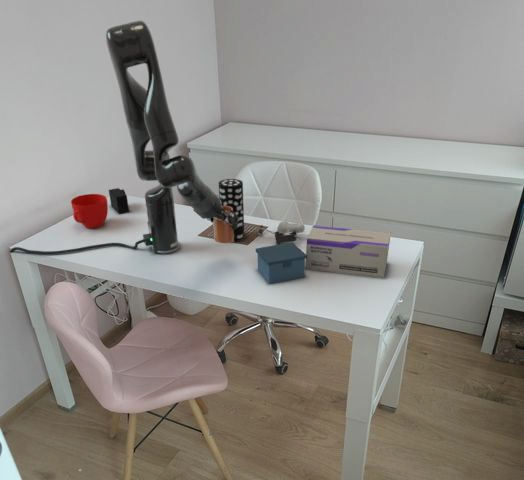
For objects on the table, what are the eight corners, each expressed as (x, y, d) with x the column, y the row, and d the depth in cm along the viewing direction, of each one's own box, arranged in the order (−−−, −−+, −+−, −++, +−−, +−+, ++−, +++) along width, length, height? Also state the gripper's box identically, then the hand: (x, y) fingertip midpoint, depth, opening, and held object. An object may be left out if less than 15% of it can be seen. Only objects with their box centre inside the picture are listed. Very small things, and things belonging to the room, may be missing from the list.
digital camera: (132, 211, 219) (129, 194, 215) (119, 214, 216) (116, 197, 212) (124, 203, 226) (121, 187, 222) (111, 206, 224) (108, 189, 220)
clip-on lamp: (251, 247, 196) (295, 246, 187) (247, 231, 193) (291, 229, 184) (266, 232, 204) (309, 231, 195) (262, 217, 201) (305, 214, 191)
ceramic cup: (63, 233, 201) (57, 207, 195) (88, 217, 214) (83, 192, 208) (94, 237, 198) (88, 211, 192) (117, 220, 211) (113, 195, 205)
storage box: (268, 284, 167) (268, 262, 162) (255, 269, 175) (255, 248, 171) (306, 277, 170) (307, 255, 166) (292, 263, 179) (292, 242, 174)
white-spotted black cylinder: (243, 242, 193) (242, 186, 181) (220, 242, 193) (217, 186, 182) (244, 232, 200) (243, 178, 188) (222, 232, 200) (219, 178, 188)
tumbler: (217, 244, 171) (216, 214, 165) (212, 236, 176) (210, 207, 170) (236, 241, 173) (235, 211, 167) (230, 233, 178) (229, 204, 172)
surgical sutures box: (305, 268, 175) (306, 238, 169) (312, 255, 184) (313, 225, 177) (383, 278, 169) (387, 246, 163) (386, 263, 178) (390, 233, 172)
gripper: (178, 207, 160) (203, 231, 176) (219, 216, 155) (241, 239, 170) (187, 184, 161) (211, 210, 176) (228, 192, 155) (249, 217, 171)
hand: (226, 224), depth 173 cm, fingers closed on tumbler, 6 cm apart
